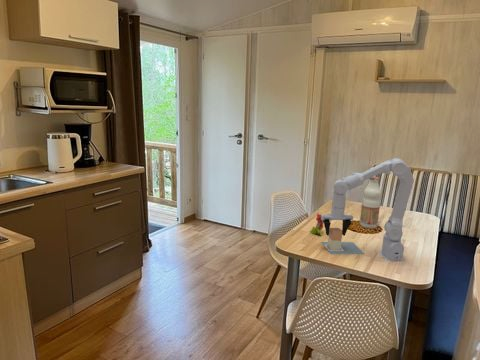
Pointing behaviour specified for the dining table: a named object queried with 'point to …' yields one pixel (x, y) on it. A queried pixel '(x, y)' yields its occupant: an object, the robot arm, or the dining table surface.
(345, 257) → the dining table surface
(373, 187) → the fruit juice
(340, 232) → the top block
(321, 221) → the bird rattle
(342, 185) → the robot arm
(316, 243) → the dining table surface
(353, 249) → the board
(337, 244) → the base block
